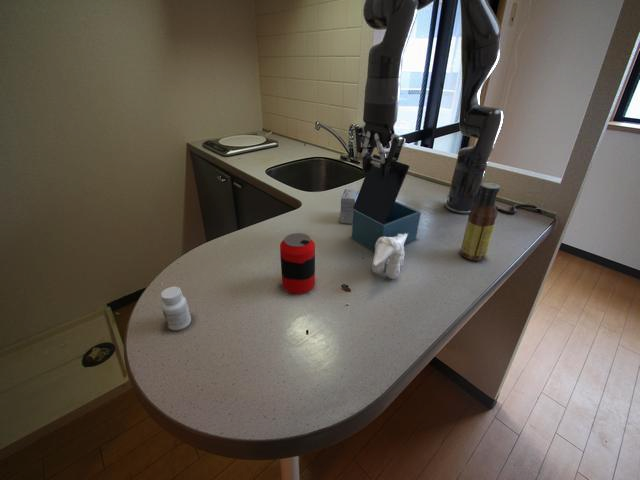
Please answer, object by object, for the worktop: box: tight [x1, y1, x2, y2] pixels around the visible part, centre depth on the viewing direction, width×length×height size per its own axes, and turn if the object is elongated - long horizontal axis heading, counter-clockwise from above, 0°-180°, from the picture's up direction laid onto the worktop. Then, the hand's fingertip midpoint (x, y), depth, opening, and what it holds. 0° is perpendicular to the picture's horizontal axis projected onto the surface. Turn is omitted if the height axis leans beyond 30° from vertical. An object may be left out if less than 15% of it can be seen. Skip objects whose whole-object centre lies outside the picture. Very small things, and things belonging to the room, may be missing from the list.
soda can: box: [279, 232, 316, 295], centre depth 70 cm, size 8×8×12 cm
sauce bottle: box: [460, 182, 501, 262], centre depth 80 cm, size 7×6×20 cm
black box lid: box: [353, 153, 410, 225], centre depth 80 cm, size 15×12×5 cm
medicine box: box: [339, 188, 359, 225], centre depth 101 cm, size 8×4×9 cm, turn 168°
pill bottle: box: [160, 286, 192, 331], centre depth 60 cm, size 4×4×8 cm
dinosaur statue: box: [371, 233, 408, 280], centre depth 77 cm, size 7×24×11 cm, turn 148°
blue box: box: [351, 200, 422, 253], centre depth 90 cm, size 15×12×9 cm
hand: (374, 174), depth 78 cm, fingers closed on black box lid, 5 cm apart
